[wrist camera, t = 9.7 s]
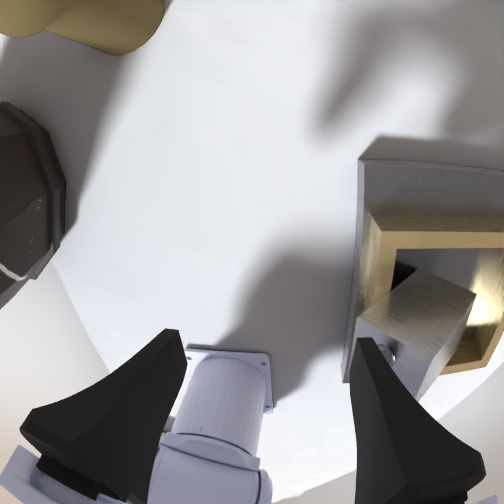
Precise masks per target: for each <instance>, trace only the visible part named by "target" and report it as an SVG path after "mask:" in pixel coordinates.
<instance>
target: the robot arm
mask: <svg viewBox="0 0 504 504" xmlns="http://www.w3.org/2000/svg"><path fill="white" fill-rule="evenodd" d="M264 362H265V363H264ZM187 367H188V370H189V373H190V376H191V380H190V382H189V385H188V387H187V390H186V392H185V395H184V398H183V400H182V403H181V405H180V408H179V411H178V413H177V416H176V418H175V421H174V423H173V426H172V429H171V431H170V432H167V433H166V436H165V438H164V441H163V443H162V441H161V440H160V438H161V435H162V431H163V429H164V426H165V423H166V421H167V419H168V416H169V414H170V412H171V409H172V407H173V405H174V402H175V400H176V398H177V395H178V393H179V391H180V388H181V386H182V383H183V380H184V376H185V373H186V369H187ZM349 377H350V397H351V404H352V411H353V418H354V425H355V433H356V442H357V474H356V493H355V504H464V502H465V501H467V499H468V496H467V491H469V490H470V489H472V488H473V487H474V486H475V485H477V484H478V483H479V482H481V481H482V480H483V479H484V477H485V476H486V471H485V466H484V462H483V459H482V456H481V454H480V453H479V452H478V451H477V450H475V449H473V448H472V447H470V446H468V445H467V444H465V443H464V442H462V441H461V440H459V439H458V438H456V437H455V436H454V435H453V434H451V433H450V432H448V431H447V430H446V429H445V428H444V427H443V426H442V425H441V424H439V423H438V422H437V421H436V420H435V419H434V418H433V417H432V416H431V415H430V414H429V413H428V412H427V411H426V410H425V409H424V408H423V407H422V406H421V405H420V404H419V403H418V402H417V400H416V399H415V398H414V397H413V396H412V395H411V393H410V392H409V391H408V390H407V388H406V387H405V386H404V384H403V383H402V382H401V380H400V379H399V378H398V376H397V375H396V373H395V372H394V370H393V369H392V368H391V366H390V365H389V363H388V362H387V360H386V358H385V357H384V355H383V354H382V352H381V350H380V349H379V347H378V345H377V344H376V342H375V340H374V339H373V338H372V337H357V339H356V344H355V349H354V354H353V358H352V362H351V367H350V371H349ZM272 412H273V401H272V387H271V373H270V359H269V356H268V355H267V354H264V353H243V352H226V351H212V350H200V349H189V348H186V349H184V348H183V345H182V341H181V338H180V334H179V330H174V329H164V330H163V331H162V332H161V333H159V334H158V335H157V336H156V337H155V338H154V339H153V340H152V341H150V342H149V343H148V344H147V345H146V346H145V347H144V348H142V349H141V350H140V351H139V352H138V353H136V354H135V355H134V356H133V357H132V358H131V359H129V360H128V361H127V362H125V363H124V364H123V365H121V366H120V367H119V368H118V369H116V370H115V371H114V372H112V373H111V374H109V375H108V376H106V377H105V378H103V379H102V380H100V381H99V382H97V383H95V384H94V385H92V386H90V387H88V388H86V389H84V390H82V391H80V392H78V393H77V394H74V395H72V396H70V397H68V398H65V399H63V400H60V401H58V402H55V403H52V404H49V405H45V406H42V407H38V408H35V409H32V411H31V412H30V414H29V415H28V416H27V418H26V420H25V421H24V422H23V424H22V425H21V427H20V432H21V434H22V435H23V436H24V437H25V438H26V440H28V442H30V443H31V444H32V445H33V446H34V447H35V448H36V449H37V450H38V451H39V452H40V453H41V454H42V455H41V457H40V458H38V457H37V456H36V455H34V454H33V453H31V452H29V451H28V450H27V449H25V448H24V447H22V446H21V445H18V446H17V448H16V449H15V451H14V453H13V455H12V456H11V458H10V460H9V461H8V463H7V465H6V466H5V468H4V470H3V472H2V473H1V475H0V485H2V486H3V487H4V488H5V489H6V490H8V491H9V492H10V493H11V494H12V495H13V496H14V497H16V498H17V499H18V500H19V501H21V502H22V503H23V504H125V503H126V504H271V499H272V482H271V479H270V478H269V476H268V474H267V472H266V471H265V470H262V469H259V465H260V458H257V457H256V453H257V447H258V441H259V435H260V429H261V423H262V417H263V414H271V413H272ZM118 500H119V501H118ZM120 501H121V502H120ZM123 502H124V503H123ZM474 504H498V501H497V496H496V495H494V496H491V497H489V498H487V499H484V500H482V501H479V502H477V503H474Z"/></svg>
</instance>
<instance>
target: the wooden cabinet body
mask: <svg viewBox="0 0 504 504" xmlns="http://www.w3.org/2000/svg"><path fill="white" fill-rule="evenodd" d="M418 268H419V269H421V270H424V271H426V272H428V273H431V274H433V275H435V276H438V277H440V278H442V279H445V280H447V281H449V282H452V283H454V284H456V285H459V286H461V287H463V288H465V289H468V290H470V291H472V292H474V293H477V296H476V299H475V302H474V305H473V308H472V311H471V314H470V317H469V319H468V322H467V325H466V327H465V330H464V332H463V335H462V337H461V340H460V342H459V345H458V347H457V349H456V351H455V352H454V354H453V355H452V357H451V358H450V360H449V361H448V363H447V364H446V365H445V367H444V368H443V370H442V371H441V373H440V374H439V375H445V374H451V373H457V372H462V371H468V370H473V369H478V368H482V367H486V365H487V364H488V362H489V360H490V358H491V356H492V354H493V352H494V350H495V348H496V346H497V344H498V342H499V340H500V338H501V336H502V333H503V331H504V171H499V170H492V169H485V168H477V167H469V166H460V165H450V164H439V163H427V162H413V161H395V160H368V159H358V195H357V224H356V242H355V257H354V269H353V281H352V291H351V300H350V309H349V317H348V325H347V332H346V339H345V346H344V353H343V359H342V365H341V370H342V382H343V383H350V378H349V377H347V372H348V367H349V362H350V356H351V351H352V345H353V339H354V332H355V326H356V319H357V317H358V316H359V315H361V314H362V313H363V312H365V311H366V310H367V309H369V308H370V307H371V306H373V305H374V304H375V303H377V302H378V301H379V300H380V299H382V298H383V297H384V296H386V295H387V294H388V293H389V292H391V291H392V290H393V289H394V288H396V287H397V286H398V285H399V284H401V283H402V282H403V281H404V280H405V279H407V278H408V277H409V276H410V275H411V274H413V273H414V272H415V271H416V270H417V269H418Z"/></svg>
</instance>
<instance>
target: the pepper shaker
mask: <svg viewBox="0 0 504 504" xmlns="http://www.w3.org/2000/svg"><path fill="white" fill-rule="evenodd" d="M163 13H164V0H0V33H1V34H4V35H7V36H11V37H25V36H29V35H33V34H36V33H39V32H41V31H42V30H45V31H48V32H51V33H54V34H57V35H60V36H63V37H66V38H69V39H71V40H74V41H77V42H80V43H82V44H85V45H87V46H90V47H92V48H95V49H97V50H100V51H102V52H105V53H108V54H110V55H123V54H126V53H129V52H132V51H134V50H136V49H137V48H139V47H140V46H142V45H143V44H145V43H146V42H147V41H148V40H149V39H150V38H151V37H152V35H153V34H154V33H155V32H156V30H157V28H158V26H159V25H160V23H161V21H162V17H163Z"/></svg>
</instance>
